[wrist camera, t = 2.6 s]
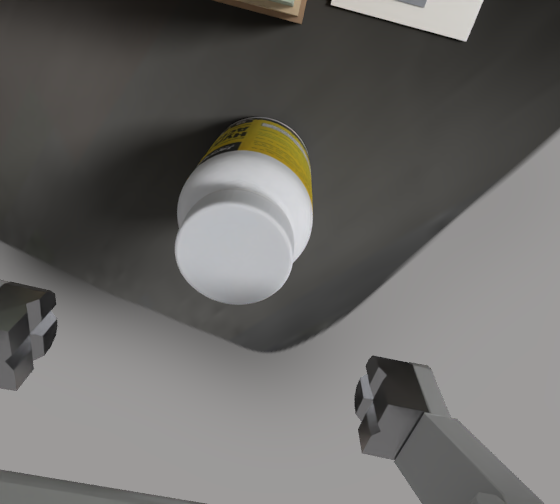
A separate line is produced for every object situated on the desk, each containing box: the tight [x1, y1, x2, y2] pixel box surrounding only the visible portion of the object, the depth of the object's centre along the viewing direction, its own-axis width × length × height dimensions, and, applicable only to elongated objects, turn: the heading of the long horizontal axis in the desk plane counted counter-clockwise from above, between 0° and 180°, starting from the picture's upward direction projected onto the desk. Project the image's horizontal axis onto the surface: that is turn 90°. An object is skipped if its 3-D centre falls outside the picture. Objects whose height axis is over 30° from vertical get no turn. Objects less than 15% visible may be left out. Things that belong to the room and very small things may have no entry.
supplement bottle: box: [175, 117, 313, 305], centre depth 17 cm, size 5×5×10 cm
